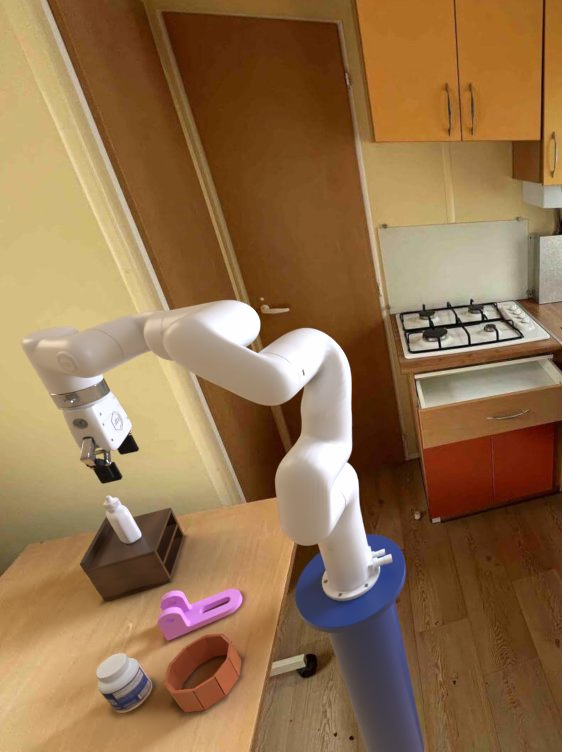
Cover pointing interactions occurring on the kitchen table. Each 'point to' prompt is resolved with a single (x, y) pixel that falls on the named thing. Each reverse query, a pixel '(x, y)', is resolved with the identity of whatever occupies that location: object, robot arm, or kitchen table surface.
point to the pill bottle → (123, 682)
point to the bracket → (194, 611)
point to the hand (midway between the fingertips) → (121, 465)
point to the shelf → (134, 555)
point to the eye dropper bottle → (121, 520)
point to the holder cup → (210, 688)
